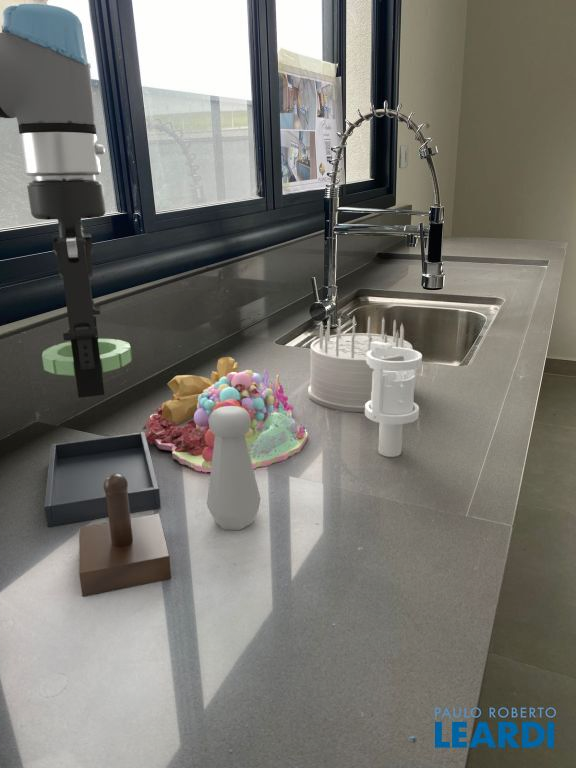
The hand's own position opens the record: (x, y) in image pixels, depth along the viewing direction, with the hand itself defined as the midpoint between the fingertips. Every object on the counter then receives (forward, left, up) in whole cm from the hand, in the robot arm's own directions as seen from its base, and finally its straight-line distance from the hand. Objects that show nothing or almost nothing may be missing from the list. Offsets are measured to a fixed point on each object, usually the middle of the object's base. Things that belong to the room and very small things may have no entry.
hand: (91, 381), depth 71 cm
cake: (+43, +19, -14) cm, 49 cm away
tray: (0, 0, -13) cm, 13 cm away
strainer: (+37, -4, -14) cm, 40 cm away
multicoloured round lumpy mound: (+18, +10, -14) cm, 25 cm away
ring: (0, 0, +2) cm, 2 cm away
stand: (+1, -18, -13) cm, 22 cm away
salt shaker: (+13, -14, -14) cm, 24 cm away
